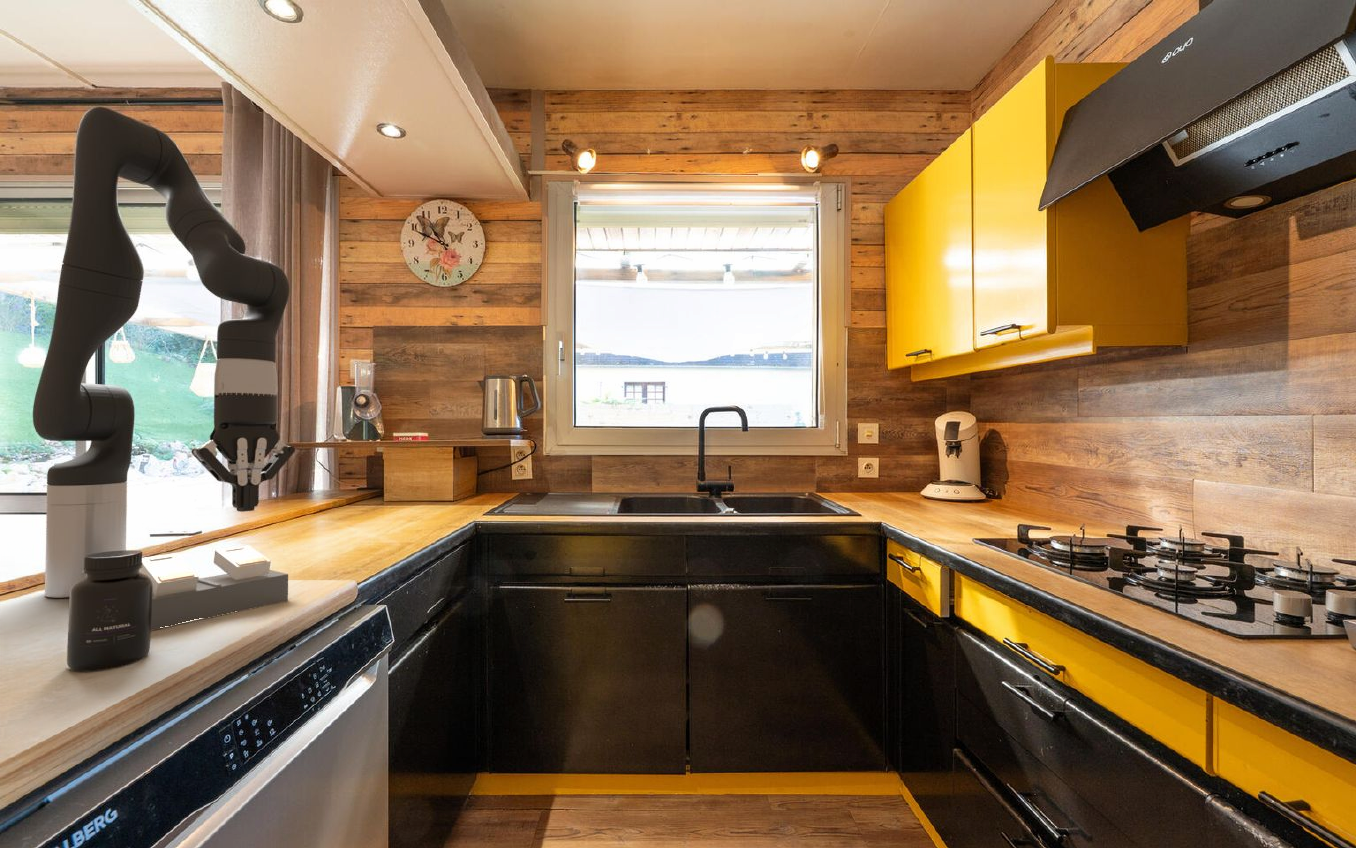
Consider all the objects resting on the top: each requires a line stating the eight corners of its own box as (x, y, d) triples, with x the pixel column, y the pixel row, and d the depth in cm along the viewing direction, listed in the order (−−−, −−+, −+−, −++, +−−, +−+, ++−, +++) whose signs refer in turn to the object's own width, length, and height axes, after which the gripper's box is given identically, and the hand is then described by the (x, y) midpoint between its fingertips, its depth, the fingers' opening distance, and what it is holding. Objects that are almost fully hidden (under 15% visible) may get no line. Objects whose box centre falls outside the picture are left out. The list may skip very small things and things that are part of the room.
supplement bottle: (99, 675, 63) (101, 561, 64) (49, 670, 65) (51, 558, 65) (166, 652, 70) (168, 549, 70) (120, 648, 72) (122, 546, 72)
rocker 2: (213, 562, 90) (215, 549, 90) (246, 557, 94) (248, 544, 94) (235, 580, 87) (237, 565, 86) (268, 574, 90) (270, 560, 90)
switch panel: (112, 623, 81) (112, 591, 81) (261, 593, 96) (261, 566, 96) (136, 634, 76) (136, 600, 76) (287, 600, 92) (288, 572, 92)
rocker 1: (136, 571, 82) (138, 557, 82) (175, 565, 86) (178, 552, 86) (155, 596, 79) (158, 582, 79) (196, 589, 83) (198, 575, 82)
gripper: (282, 395, 96) (281, 504, 96) (180, 390, 85) (179, 514, 84) (307, 394, 92) (306, 508, 92) (203, 388, 81) (201, 518, 80)
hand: (245, 510), depth 88 cm, fingers closed
